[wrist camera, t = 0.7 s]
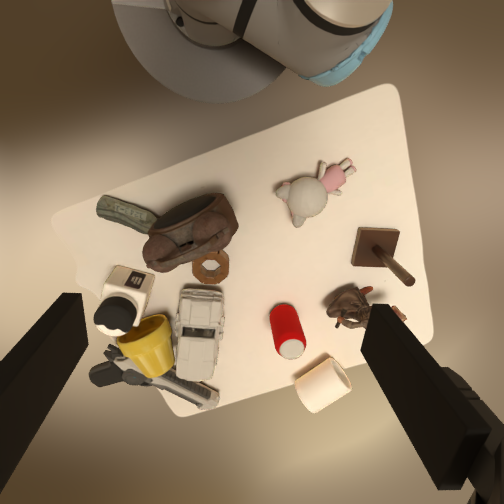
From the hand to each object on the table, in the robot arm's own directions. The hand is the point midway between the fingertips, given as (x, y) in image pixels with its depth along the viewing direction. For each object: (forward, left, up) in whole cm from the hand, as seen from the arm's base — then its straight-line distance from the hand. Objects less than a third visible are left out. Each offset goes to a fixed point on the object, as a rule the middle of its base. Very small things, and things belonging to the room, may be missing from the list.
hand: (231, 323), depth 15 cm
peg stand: (+15, +30, -48) cm, 59 cm away
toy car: (+35, -5, -48) cm, 59 cm away
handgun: (+57, -20, -47) cm, 77 cm away
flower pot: (+42, -12, -41) cm, 60 cm away
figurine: (+27, +28, -48) cm, 62 cm away
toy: (+3, +16, -48) cm, 51 cm away
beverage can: (+32, +13, -48) cm, 59 cm away
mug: (+46, +22, -41) cm, 65 cm away
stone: (+8, -17, -47) cm, 51 cm away
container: (+26, -19, -48) cm, 58 cm away
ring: (+20, -3, -48) cm, 52 cm away
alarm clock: (+9, -6, -48) cm, 49 cm away
